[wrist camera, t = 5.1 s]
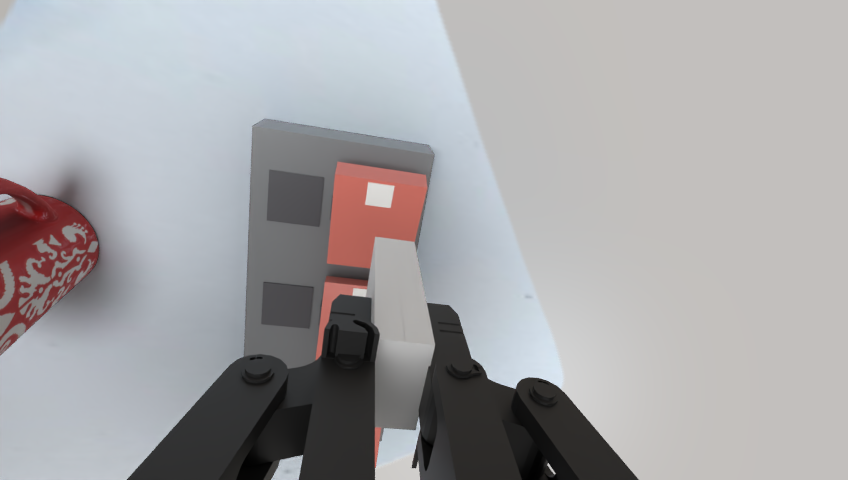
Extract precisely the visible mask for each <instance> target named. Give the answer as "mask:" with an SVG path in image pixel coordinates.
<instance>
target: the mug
mask: <svg viewBox="0 0 848 480" xmlns="http://www.w3.org/2000/svg"><path fill="white" fill-rule="evenodd" d="M0 194H8V195H10V196H11V197H13V198H10V199H7V200H4V201H1V202H0V355H1V354H2V353H3V352H5V351H6V350H7V349H8V348H9V347H10V346H11V345H12V344H13V343H14V342H15V341H16V340H17V339H18V338H19V337H20V336H21V335H22V334H24V333H25V332H26V331H27V330H28V329H29V328H30V327H31V326H32V325H33V324H34V323H35V322H36V321H38V320H39V319H40V318H41V317H42V316H43V315H44V314H45V313H46V312H47V311H48V310H49V309H50V308H51V307H53V306H54V305H55V304H56V303H57V302H58V301H59V300H60V299H61V298H62V297H63V296H64V295H66V294H67V293H68V292H69V291H70V290H71V289H72V288H73V287H74V286H75V285H77V284H78V283H79V282H80V281H81V280H82V279H84V278H85V277H86V276H87V275H88V274H89V273H90V272H91V270H92V269H93V268H94V266H95V264H96V262H97V259H98V254H99V245H98V240H97V237H96V234H95V232H94V230H93V228H92V227H91V225H90V224H89V222H88V221H87V220H86V219H85V218H84V217H83V216H82V215H81V214H80V213H79V212H78V211H77V210H75V209H74V208H73V207H71V206H69V205H67V204H66V203H64V202H62V201H59V200H57V199H54V198H51V197H47V196H42V195H37V194H35V193H34V192H32V191H31V190H29V189H27V188H26V187H23V186H21V185H19V184H16V183H14V182H11V181H9V180H6V179H3V178H0Z"/></svg>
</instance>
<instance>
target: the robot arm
mask: <svg viewBox="0 0 848 480" xmlns="http://www.w3.org/2000/svg"><path fill="white" fill-rule="evenodd" d="M418 417H419V419H420V433H419V437H418V441H417V445H416V450H415V454H414V458H413V464H412V468H416V466H417V462H418V461H419V471H420V480H638V479H637V477H636V476H635V475H634V474H633V472H632V471H631V470H630V469H629V468H628V467H627V466H626V465H625V463H624V462H623V461H622V460H621V458H620V457H619V456H618V455H617V454H616V453H615V452H614V450H613V449H612V448H611V447H610V446H609V444H608V443H607V442H606V441H605V440H604V439H603V437H602V436H601V435H600V434H599V433H598V432H597V430H596V429H595V428H594V427H593V426H592V425H591V423H590V422H589V421H588V420H587V419H586V417H585V416H584V415H583V414H582V413H581V412H580V410H579V409H578V408H577V407H576V406H575V405H574V404H573V402H572V401H571V400H570V399H569V397H568V396H567V395H566V394H565V393H564V392H563V391H562V390H561V389H560V388H559V387H557V386H556V385H554V384H552V383H550V382H549V381H546V380H543V379H540V378H530V377H529V378H525V379H522V380H521V381H520V382H519V383H518V384H517V387H516V389H514V388H510V387H507V386H504V385H501V384H498V383H496V382H493V381H491V380H489V379H488V378H487V375H486V372H485V370H484V369H483V367H482V366H481V365H480V364H479V363H478V362H476V361H475V360H473V359H471V355H470V352H469V349H468V346H467V342H466V339H465V336H464V334H463V330H462V326H461V323H460V320H459V317H458V314H457V313H456V312H455V311H454V310H453V309H452V308H451V307H450V306H449V305H440V304H432V303H427V302H426V297H425V292H424V287H423V282H422V277H421V272H420V267H419V262H418V257H417V252H416V247H415V242H411V241H404V240H397V239H389V238H382V237H375V241H374V247H373V254H372V260H371V267H370V273H369V279H368V286H367V292H366V297H361V296H352V295H343V294H340V295H339V296H338V297H337V298H336V299H334V300H333V301H332V305H331V310H330V316H329V321H328V323H327V325H326V327H325V329H324V336H323V344H322V352H321V356H320V357H319V358H318V359H317V360H315V361H314V362H312V363H310V364H308V365H305V366H301V367H297V368H289V369H287V365H286V364H285V363H284V362H283V361H282V360H281V359H279V358H276V357H274V356H271V355H263V354H257V355H248V356H246V357H243V358H240V359H238V360H236V361H235V362H234V363H232V364H231V365H230V366H229V367H228V368H227V369H226V370H225V371H224V372H223V374H222V375H221V376H220V377H219V378H218V379H217V380H216V381H215V382H214V384H213V385H212V386H211V387H210V388H209V389H208V390H207V391H206V392H205V394H204V395H203V396H202V397H201V398H200V399H199V400H198V401H197V402H196V404H195V405H194V406H193V407H192V408H191V409H190V410H189V411H188V412H187V414H186V415H185V416H184V417H183V418H182V419H181V420H180V421H179V422H178V424H177V425H176V426H175V427H174V428H173V429H172V430H171V431H170V432H169V434H168V435H167V436H166V437H165V438H164V439H163V440H162V441H161V442H160V444H159V445H158V446H157V447H156V448H155V449H154V450H153V451H152V452H151V454H150V455H149V456H148V457H147V458H146V459H145V460H144V461H143V462H142V464H141V465H140V466H139V467H138V468H137V469H136V470H135V471H134V472H133V474H132V475H131V476H130V477H129V478H128V479H127V480H271V478H272V477H273V475H274V473H275V471H276V469H277V467H278V465H279V461H280V460H282V459H286V458H291V457H295V456H300V455H303V460H302V465H301V471H300V476H299V480H375V427H379V428H393V429H408V430H416V426H417V421H418ZM548 463H549V464H550V466H551V467H552V469H553V470H554V472H555V473H556V474H555V475H554V474H553V472H551V470H550V469H549V467H548V466H547V464H548Z"/></svg>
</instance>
